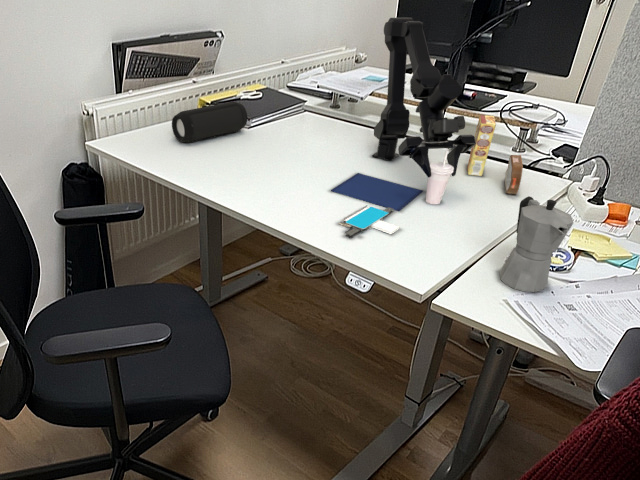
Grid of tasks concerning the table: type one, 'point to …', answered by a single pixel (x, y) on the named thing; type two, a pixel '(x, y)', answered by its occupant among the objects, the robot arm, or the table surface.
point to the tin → (513, 174)
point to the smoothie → (438, 180)
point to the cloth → (377, 191)
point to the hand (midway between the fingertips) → (441, 176)
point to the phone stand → (368, 221)
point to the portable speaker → (209, 122)
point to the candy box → (481, 145)
